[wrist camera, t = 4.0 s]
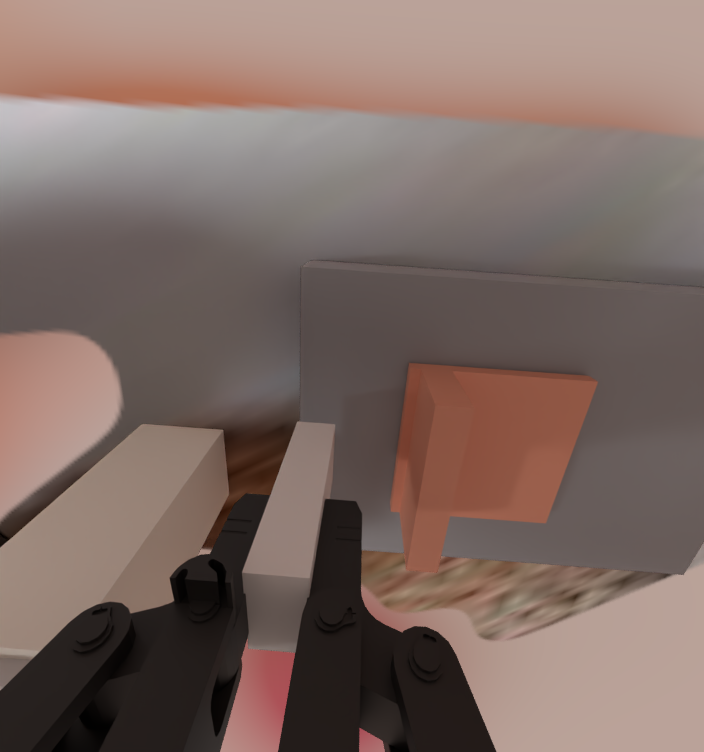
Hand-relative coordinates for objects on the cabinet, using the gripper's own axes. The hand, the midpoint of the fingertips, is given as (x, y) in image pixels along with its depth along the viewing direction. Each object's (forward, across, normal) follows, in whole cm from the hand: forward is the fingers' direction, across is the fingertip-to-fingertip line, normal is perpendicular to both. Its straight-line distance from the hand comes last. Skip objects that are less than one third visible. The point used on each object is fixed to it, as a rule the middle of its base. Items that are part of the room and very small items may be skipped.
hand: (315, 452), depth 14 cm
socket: (+5, +9, 0) cm, 10 cm away
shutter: (+1, +7, 0) cm, 7 cm away
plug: (+5, -8, -4) cm, 10 cm away
